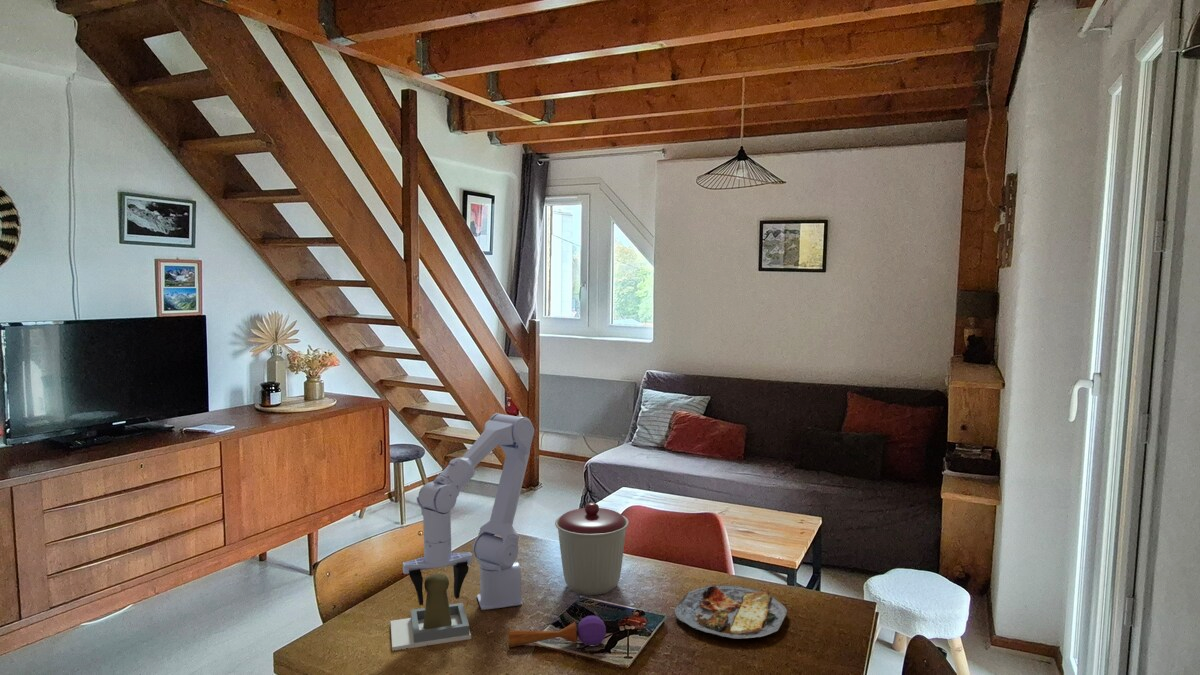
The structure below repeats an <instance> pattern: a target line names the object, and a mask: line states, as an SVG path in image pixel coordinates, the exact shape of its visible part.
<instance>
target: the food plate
mask: <svg viewBox="0 0 1200 675" xmlns="http://www.w3.org/2000/svg"><path fill="white" fill-rule="evenodd" d="M674 613H675V616H676V617H677V619H678V620H679V621H681V622H682V623H685V624H686V625H688V626H689V627H691V628H693V629H695V630H699V631H701V632H703V633H708V634H712V635H716V636H719V637H722V638H723V637H724V638H725V637H726V638H729V639H734V640H735V639H739V640H741V639H752V638H753V639H754V638H761V637H765V636H768V635H771V634H773V633H776V632H778V631H779V630H780V628H781V626H782V624H783V622H784V620H785V619H786V616H787V613H788V609H787V608H786V606H785V605H784V604H783V603H782V602H780V601H779V600H778V599H776V597H775V596H772V592H771V591H770V590H766V591H761V590H756V589H753V588H750V587H747V586H741V585H734V584H712V585H706V586H703V587H700V588H695V589H694V590H691V591H688V592H687V593H686V594H685V595H684V596H683V598H682V599H681V600H680V601H679V602H678V604H677V605H676V607H675V608H674ZM699 615H701V616H700V617H699V620H700V619H701V620H702V621H703V622H705V623H704V626H703V623H701V624H699V623H700V622H699V621H698V616H699ZM704 619H705V620H704ZM729 624H730V627H729V633H727V632H720V631H721V630H722V629H724V628H725V627H728V626H729ZM707 627H708V628H707Z"/></svg>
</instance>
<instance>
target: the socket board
mask: <svg viewBox="0 0 1200 675" xmlns="http://www.w3.org/2000/svg"><path fill="white" fill-rule="evenodd" d="M464 606H465V605H464V603H463V602H457V603H449V609H450V615H451V622H452V624H451V626H445V627H438V628H431V629H424V627H423V625H424V616H425V607H421V608H420V607H419V608H414V609H410V617H408V618H401V619H394V620H390V633H391V634H390V635H391V636H390V637H391V650H392V652H394V650H395V651H400V650H401V649H402V650H407V649H406V648H408V649H413V648H414V649H415V648H421V647H427V645H428V646H432V645H433V646H434V645H438V644H439V645H441V644H446V643H453V642H459V641H466V640H471V639H472V633H471V630H470V623H469V620H468V616H467V613H466V610H465V607H464ZM402 650H401V651H402Z"/></svg>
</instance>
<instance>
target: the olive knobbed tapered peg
mask: <svg viewBox="0 0 1200 675" xmlns="http://www.w3.org/2000/svg"><path fill="white" fill-rule="evenodd" d="M449 584H450V580H449V578H448V576H447V575H446V574H444V573H433V574H430V575H428V576H426V578H425V579H424V590H425V591H426V600H425V607H424V608H425V616H424V625H423V627H424V629H431V628H438V627H445V626H451V624H452V622H451V615H450V609H449V604H450V603H449V598H448V591H447V590H448V589H449Z"/></svg>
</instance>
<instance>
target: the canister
mask: <svg viewBox="0 0 1200 675" xmlns="http://www.w3.org/2000/svg"><path fill="white" fill-rule="evenodd" d="M554 524H555V525H554V526H555V527H556V529H557V532H558V540H559V541H558V542H559V550H560V556H561V557H560V558H561V565H562V566H561V567H562V572H563V577H564V578H563V579H564V581H565V584H566V586H567V587H568V588H569V589H570V590H571V591H573V592H575V593H577V594H581V595H588V596H589V595H590V596H596V595H603V594H606V593H609V592H610V591H613V590H614V589H615V588H616V587H617V586H618V584H619V582H620V579H621V572H622V566H623V557H624V549H625V548H624V547H625V542H626V541H625V540H626V531H627V530H626V529H627V528H628V526H629V524H630V523H629V519H628V518H627V517H626V516H624V515H623V514H621V513H620V512H618V511H615V510H612V509H610V508H609V509H608V508H604V507H603V508H602V507H600V506H599V505H598V504H597V503H596V502H588V503H586V504H585V505H584V507H582V508H576V509H573V510H570V511H567V512H565V513H563V514H562V515H560V516H558V517H557V518H556V520H555V521H554Z"/></svg>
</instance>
